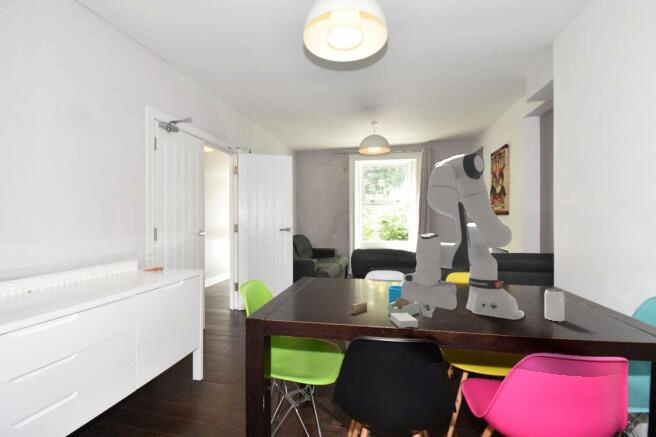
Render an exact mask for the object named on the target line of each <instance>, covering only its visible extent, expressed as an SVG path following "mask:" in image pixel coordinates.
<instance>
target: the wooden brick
mask: <svg viewBox="0 0 656 437" xmlns="http://www.w3.org/2000/svg"><path fill="white" fill-rule="evenodd" d="M367 310H368V301H365V300H364V301H360V302H356V303H353V304H351V314H355V315H356V314H358V313H363V312H365V311H367ZM362 311H363V312H362Z"/></svg>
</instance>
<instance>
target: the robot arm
mask: <svg viewBox="0 0 656 437" xmlns="http://www.w3.org/2000/svg"><path fill="white" fill-rule="evenodd" d="M484 170H485V162H484V158H483V157H482V156H481V155H480V154H479V153H477V152H468V153H464V154H458V155H455V156H452V157H450V158H447V159H444V160H441V161H438V162H436V163H435V164H434V165H433V166H432V167H431V172H430V176H429V179H428V180H429V181H428V185H427V186H428V187H427V195H426V199H427V203H428V204H427V205H428V206H429V207H430V208H431V209H432V210H433V211H434V212H436V213H438V214H442V215H444V216H446V217H449V218H451V219H453V221H454V226H455V233H456V241H455V242H443V241H441V236H440V235H439V234H437V233H433V232H432V233H431V232H429V233H422V234H419V235H418V237H417V241H416V250H415V259H416V266H415V272H412V273H407V274H404V275H403V277H402V279H403V282H402V284H401V286H402V292H401V296H402V298H403V299H404V300H409V301H413V302H418V304H419V307H420V309H421V311H422V316H423V317H427V318H433V312H434V311H435V309H436V308H440V309H446V310H451V311H452V310H455V309H456V307H457V306H458V303H457V302H458V301H457V286H456V284H455V283H453V281H448V280H447V281H446V280H442V269H449V270H450V269H452V270H456V271H460V272H463V271H465V270H467V269H469V277H468V289H469V293H468V299H467V303H466V305H465V308H466V310H468V311H469V312H470V311H471V312H472V313H473V314H475V315H479V316H481V315H482V316H486V317H487V316H488V317H494V318H501V319H507V320H513V321H514V320H520V319H522V318H524V317H525V312H524V311H523V310H519V306H518V302H517V299H516V298H515V297H514V296H512V295H511V294H510V293H508V292H507V290H505V289H504V288H503V284H504V281H503V280H502V281H501V280H500V279H499V278H498V261H497V259H496V258H495V257H494V256H493V255H492V254H491V252H490V250H489V249H500V248H501V249H502V248H506V247H507V246H509V245H510V243H511V242H512V239H513V233H512V231H511V228H510V227H509V226H508V225H506V224H505V223H503V222H502V220H500V219H499V217H498V216H497V215H496V213H495V211H494V209H493V207H492V205H491V201H490V197H489V194H488V189H487V185H486V182H485V180H484V177H483V173H484ZM457 187H458V188H457ZM457 189H458V191H459V192H458V193H459V195H460V201H459V198H458V195H457ZM467 216H468V217H469V218H470V219H471V221H472V222H470V223H468V219H467V218H468V217H467ZM441 268H442V269H441ZM426 306H428V308H429V310H427V308H426Z"/></svg>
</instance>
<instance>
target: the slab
mask: <svg viewBox="0 0 656 437" xmlns="http://www.w3.org/2000/svg"><path fill="white" fill-rule="evenodd" d="M389 316H390V317H389V318H390V319H389V320H390V321H391V322H392V324H394V325H395V326H396V327H398V328H399V329H407V328H406V327H414V328H418V325H419V324H418V321H419V320H418V319H417V318H415V317H413V315H412V316H411V315H409V314H408V313H390V314H389Z"/></svg>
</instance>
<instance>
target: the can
mask: <svg viewBox="0 0 656 437" xmlns="http://www.w3.org/2000/svg"><path fill="white" fill-rule="evenodd" d="M544 318H545V320H547V319H548V321H550V320H552V321H551V322H554V321H558V322H557V323H562V321H563V322H564V321H565V294H564V290H563V289H559V288H545V291H544Z"/></svg>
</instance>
